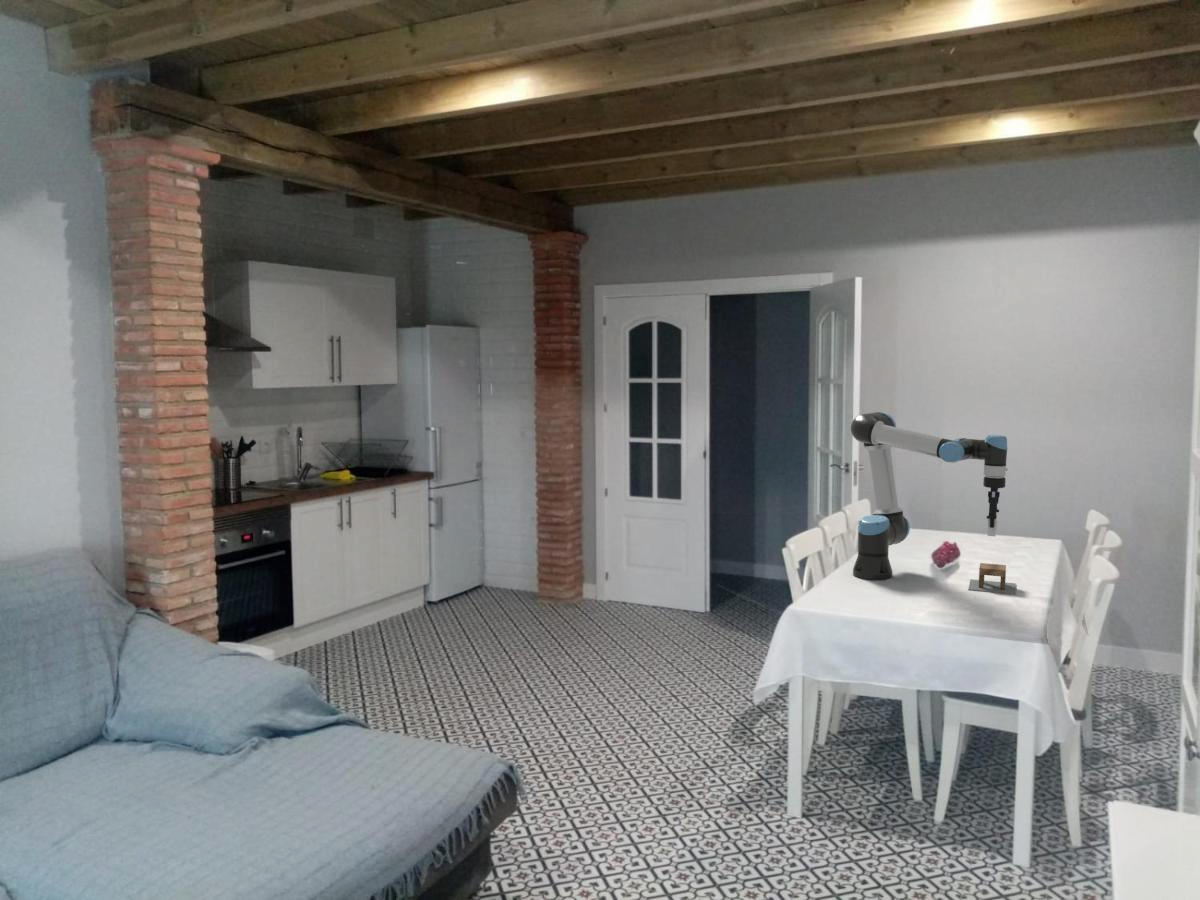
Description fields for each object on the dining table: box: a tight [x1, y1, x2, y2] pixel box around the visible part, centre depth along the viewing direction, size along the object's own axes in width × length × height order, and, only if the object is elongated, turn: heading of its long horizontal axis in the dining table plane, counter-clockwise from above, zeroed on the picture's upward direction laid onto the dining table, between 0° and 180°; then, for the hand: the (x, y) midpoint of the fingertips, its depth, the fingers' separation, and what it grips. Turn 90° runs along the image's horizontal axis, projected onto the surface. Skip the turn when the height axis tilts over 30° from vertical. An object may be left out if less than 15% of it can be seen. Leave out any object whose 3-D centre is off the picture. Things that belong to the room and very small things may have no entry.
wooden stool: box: [978, 562, 1007, 590], centre depth 345 cm, size 9×9×8 cm
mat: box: [968, 579, 1017, 595], centre depth 345 cm, size 16×16×1 cm
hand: (991, 532), depth 344 cm, fingers open, 13 cm apart
